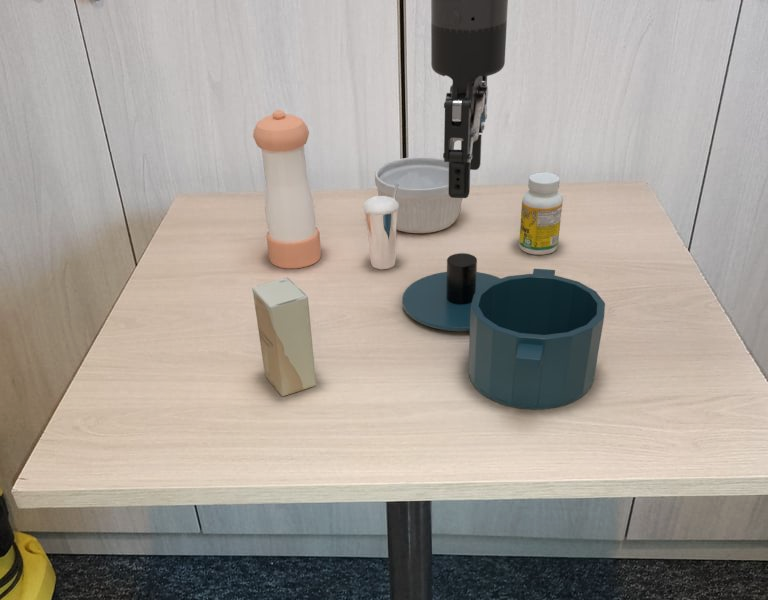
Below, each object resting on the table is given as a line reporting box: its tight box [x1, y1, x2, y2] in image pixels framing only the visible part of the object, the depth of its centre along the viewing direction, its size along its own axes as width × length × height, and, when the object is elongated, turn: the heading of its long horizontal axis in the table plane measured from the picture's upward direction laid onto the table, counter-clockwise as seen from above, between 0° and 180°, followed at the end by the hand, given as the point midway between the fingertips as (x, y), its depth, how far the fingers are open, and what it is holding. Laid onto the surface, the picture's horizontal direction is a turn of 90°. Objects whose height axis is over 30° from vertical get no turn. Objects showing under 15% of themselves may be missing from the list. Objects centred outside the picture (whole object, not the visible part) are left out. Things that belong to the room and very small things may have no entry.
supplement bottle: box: [518, 171, 564, 256], centre depth 110 cm, size 5×5×10 cm
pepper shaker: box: [252, 109, 322, 269], centre depth 107 cm, size 7×7×19 cm
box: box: [252, 277, 317, 397], centre depth 87 cm, size 5×4×11 cm
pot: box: [467, 268, 606, 410], centre depth 87 cm, size 14×19×8 cm
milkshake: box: [363, 184, 399, 270], centre depth 108 cm, size 4×5×10 cm
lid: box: [401, 252, 502, 332], centre depth 99 cm, size 15×15×6 cm
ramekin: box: [374, 156, 463, 234], centre depth 119 cm, size 13×13×7 cm
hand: (465, 182), depth 91 cm, fingers open, 8 cm apart
